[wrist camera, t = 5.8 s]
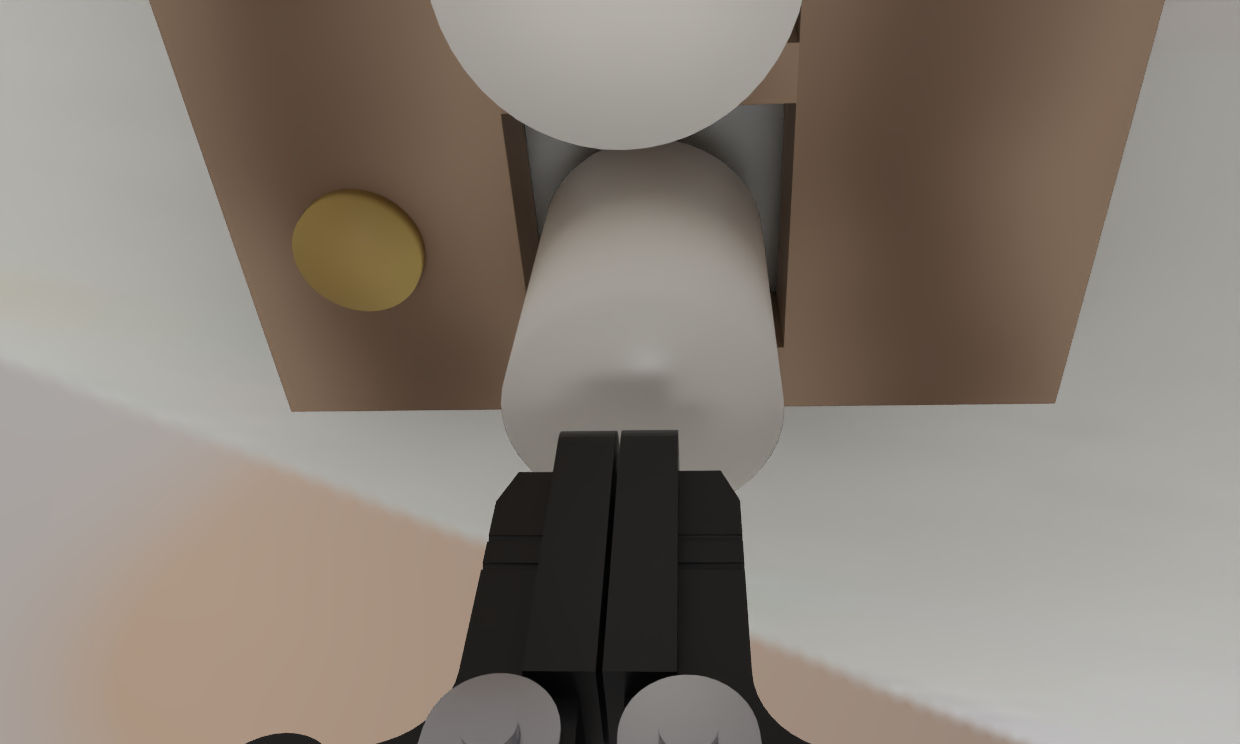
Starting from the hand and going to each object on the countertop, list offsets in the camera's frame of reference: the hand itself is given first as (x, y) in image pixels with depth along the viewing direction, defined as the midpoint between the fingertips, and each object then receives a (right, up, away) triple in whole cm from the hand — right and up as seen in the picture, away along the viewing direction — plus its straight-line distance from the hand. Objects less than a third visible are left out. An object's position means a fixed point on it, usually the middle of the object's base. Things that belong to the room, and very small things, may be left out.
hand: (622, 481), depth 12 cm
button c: (+1, +4, +5) cm, 6 cm away
